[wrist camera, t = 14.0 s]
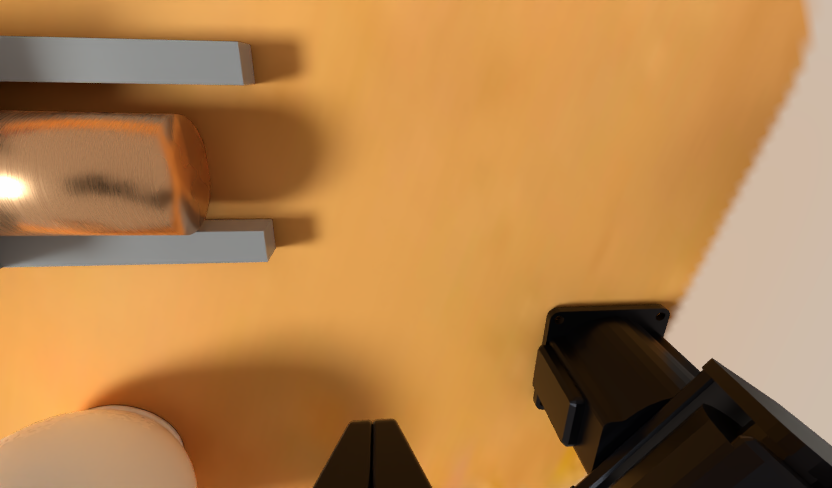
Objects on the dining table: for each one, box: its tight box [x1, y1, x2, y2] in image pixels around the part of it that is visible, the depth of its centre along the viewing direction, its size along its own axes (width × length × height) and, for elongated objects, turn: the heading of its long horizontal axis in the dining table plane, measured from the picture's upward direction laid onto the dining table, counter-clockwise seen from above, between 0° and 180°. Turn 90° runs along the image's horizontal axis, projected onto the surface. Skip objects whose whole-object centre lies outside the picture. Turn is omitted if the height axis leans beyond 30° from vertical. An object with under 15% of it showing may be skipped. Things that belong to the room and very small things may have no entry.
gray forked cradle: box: [0, 36, 276, 268], centre depth 14 cm, size 13×8×6 cm, turn 89°
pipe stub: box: [0, 110, 210, 236], centre depth 15 cm, size 8×4×4 cm
